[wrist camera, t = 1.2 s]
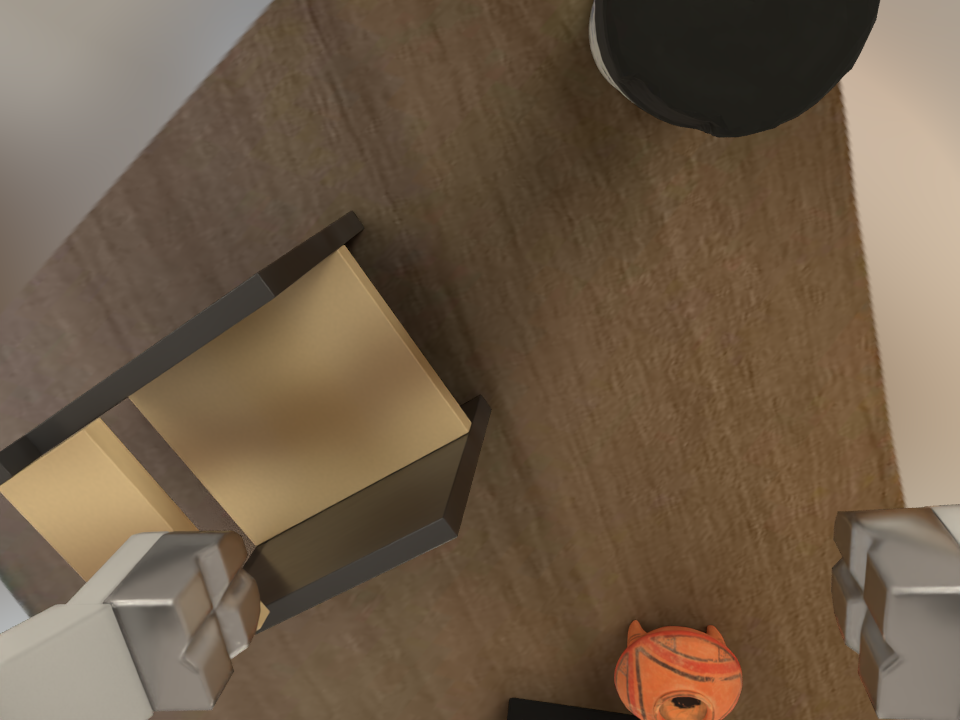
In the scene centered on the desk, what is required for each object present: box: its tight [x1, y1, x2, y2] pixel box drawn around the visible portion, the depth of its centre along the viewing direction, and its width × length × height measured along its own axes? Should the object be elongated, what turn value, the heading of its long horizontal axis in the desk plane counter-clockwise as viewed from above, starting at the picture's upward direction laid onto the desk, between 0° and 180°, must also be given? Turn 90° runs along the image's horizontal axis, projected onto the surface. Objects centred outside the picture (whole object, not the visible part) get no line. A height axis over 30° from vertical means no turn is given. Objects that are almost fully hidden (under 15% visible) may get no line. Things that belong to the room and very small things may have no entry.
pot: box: [614, 620, 742, 720], centre depth 47 cm, size 8×8×7 cm
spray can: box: [589, 0, 880, 137], centre depth 26 cm, size 7×7×20 cm
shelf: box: [0, 211, 491, 635], centre depth 39 cm, size 14×16×15 cm
